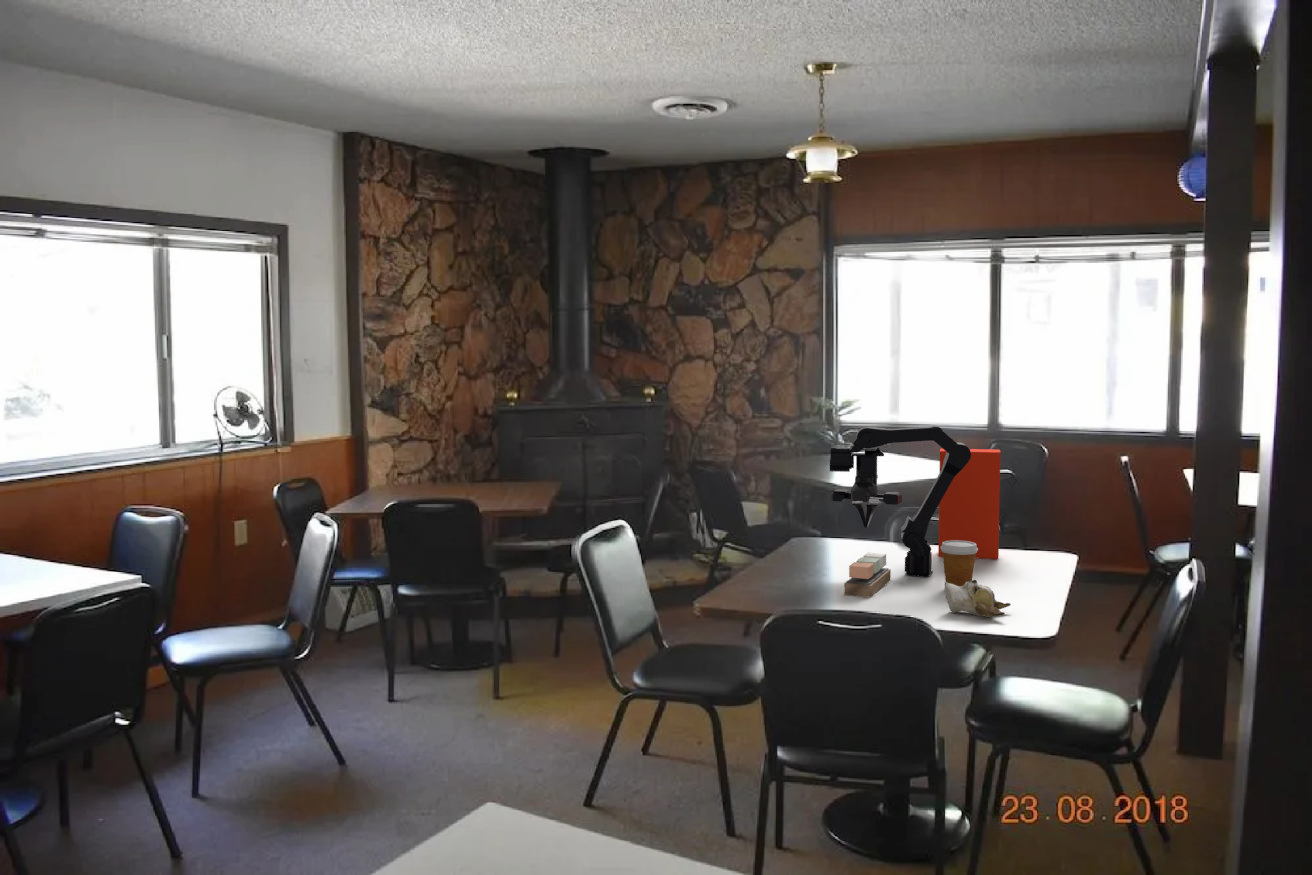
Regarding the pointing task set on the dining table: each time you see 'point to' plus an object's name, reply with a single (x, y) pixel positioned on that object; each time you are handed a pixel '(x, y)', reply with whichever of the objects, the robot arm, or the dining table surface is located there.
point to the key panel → (867, 584)
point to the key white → (877, 555)
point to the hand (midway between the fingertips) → (866, 527)
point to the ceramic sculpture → (973, 599)
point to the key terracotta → (861, 570)
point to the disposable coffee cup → (958, 561)
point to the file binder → (973, 504)
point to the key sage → (873, 561)
